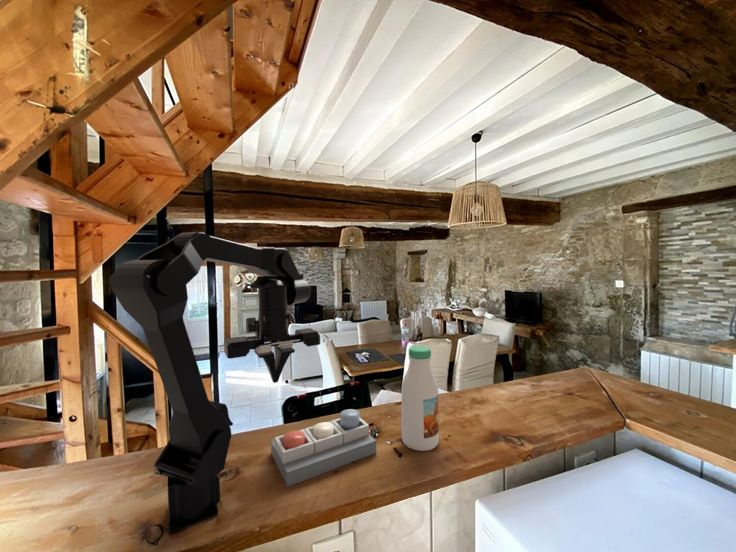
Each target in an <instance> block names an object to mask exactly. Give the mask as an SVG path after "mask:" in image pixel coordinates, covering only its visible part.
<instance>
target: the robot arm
mask: <svg viewBox="0 0 736 552" xmlns="http://www.w3.org/2000/svg"><path fill="white" fill-rule="evenodd" d="M205 261H206V262H212V263H217V264H224V265H229V266H235V267H241V268H244V269H245V270H247V271H248V272H249V273H252V274H253V275H256V276H257V277H256V279H255V280H254V281H252V283H251V284H250V285H249V287H250V289H257V291H258V293H257V295H258V316H257V317H258V319H257V318H256V317H246V319H245V330H246V331H245V332H246V334H252V333H253V334H254V335H255V336H254V337H255V339H249V340H248V338H247V337H246V336H243V335H241V336H235V337H227V338H226V339H225V340H224V342H223V349H224V350H223V351H224V354H225V356H226V358H227V359H237V358H238V359H239V358H244V357H247V355H248V354H249V353H250V351H251V350H253V352H254V354H255V355H256V356H257V357H258V358H260V359H262V360H263V361H264V362H265V365H266V368H267V370H268V372H269V375H270V378H271V381H272V383H273V384H275V383H276V384H277V383H279V380H280V378H281V375H282V372H283V369H284V367H285V365H286V363H287V362H288V359H290V356H291V354H294V353H295V352H296V349H295V348H294V347H293V346H294V344H297V343H303V344H304V345H305V346H306V347H314V346H319V345H321V335H320V333H319V331H317V330H315V329H313V328H311V327H307V328H299V329H295V331H294V334H290V333H289V329H288V328H289V325H288V323H289V319H290V316H289V315H290V314H289V313H288V306H292V305H295V304H299V303H305V302H307V301H308V300H309V299H310V297H311V294H312V288H311V286H310V284H309V282H308V281H307V280H306V279H304V273H299V271H298V268H297V266H296V264H295V262H294V260H293V258H292V256H291V255H290V252H289V250H288V249H286V248H283V247H254V246H251V245H248V244H243V243H239V242H235V241H232V240H227V239H223V238H219V237H216V236H212V235H209V234H208V233H205V232H203V231H190V232H181V233H178V234H177V235H175V236H174V237H173V238H171V239H170V240H169V241H167V242H166V243H165V242H164V243H163V244H162V245H159V246H158V247H155V248H153V249H152V250H151V249H150V250H149V251H148V252H145V253H144V254H142V255H140V256H139V257H137V259H133V260H127V261H125V262H122V263H121V264H120V265H118V266H117V267H116V268H115V269H114V272H113V274H111V275H110V280H109V282H110V287H111V290H112V292H113V294H114V295H115V297H116V299H117V300H118V302H119V304H120V305H121V307H122V308H123V310H124V311H125V312H126V313H127V314H128V316H130V317H131V318H132V319H133V320H134V321H136V322H137V324H138V325H139V326H140V327H141V328H142V330H143V333H144V336H145V338H146V341H147V344H148V346H149V349H150V352H151V354H152V358H153V360H154V363H155V366H156V369H157V372H158V374H159V377H160V379H161V383H162V385H163V389H164V392H165V393H166V397H167V398H168V402H169V406H170V407H171V409H172V414H171V419H170V421H169V424H168V435H169V440H168V442H167V444H166V445H165V447H164V448H163V449H162V451H161V453H160V454H159V457H157V459H156V461H155V463H154V465H153V466H154V469H155V470H156V472H157V473H158V475H160V476H165V477H166V478H167V505H168V506H167V508H168V509H167V511H168V512H167V513H168V514H167V515H168V516H167V533H168V535H170V534H174V533H177V532H179V531H182V530H184V529H187V528H189V527H192V526H195V525H197V524H200V523H202V522H205V521H208V520H210V519H213V518H215V517H217V516H218V515H219V507H218V504H220V502H221V483H220V482H221V481H220V473H221V472H223V471H224V469H225V466H226V463H227V462H226V461H227V456H228V452H229V447H230V442H231V439H232V428H231V427H232V426H233V425H234V423H233V421H231V419H230V416H229V415H230V414H229V409H228V406H227V405H226V403H222V402H218V401H213V400H210V399H209V397H208V394H207V390H206V387H205V384H204V381H203V378H202V375H201V371H200V369H199V365H198V361H197V358H196V355H195V353H194V349H193V346H192V343H191V340H190V337H189V334H188V330H187V327H186V324H185V321H184V314H185V310H186V307H187V304H188V299H189V295H188V287H187V285H188V283H190V282H191V280H193V279H194V278H195V277H196V276H197V275H198V274H199V273H200V270H201V267H202V266H203V263H204V262H205ZM256 338H257V339H256ZM272 347H273V348H274V351H273V350H272Z"/></svg>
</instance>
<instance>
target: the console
mask: <svg viewBox="0 0 736 552" xmlns="http://www.w3.org/2000/svg"><path fill="white" fill-rule="evenodd" d="M327 422H328V423H331V424H332V425H333V434H334V435H332V436H328V437H325V438H322V439H319V440H316V438H315V437H314V436H313V427H314V426H315V425H313V426H309V427H307V428H302V429H299V430H297V431H302V432H303V433H304V434H305V444H304V445H300V446H297V447H294V448H291V449H288V450H285V449H284V447H283V436H284V435H285V434H282V435H279V436H275V437H274V439H273V440H271V441H270V450H271V451H270V452H271V453H270V454H271V456H272V458H273V460H274V462H275V464H276V466H277V468H278V470H279V472H280V474H281V477H282V478H283V481H284V483H285V485H286V487H290V486H293V485H295V484H298V483H301V482H303V481H306V480H308V479H311V478H314V477H317V476H320V475H322V474H324V473H327V472H330V471H332V470H335V469H338V468H340V467H343V466H345V465H348V464H350V463H353V462H355V461H359V460H361V459H364V458H367V457H369V456H372V455H374V454H377V439H375V437H373V436H372V435H371V434H370V425H369V424H368V423H367V422H366V421H365V420H364V419H362V418H361V417H360V426H359V427H357V428H353V429H350V430H344V429H343V428H342V427H341V426H340V417H339V418H336V419H332V420H329V421H327Z"/></svg>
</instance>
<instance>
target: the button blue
mask: <svg viewBox="0 0 736 552" xmlns="http://www.w3.org/2000/svg"><path fill="white" fill-rule="evenodd" d="M339 418H340V426H341V427H342V428H343V429H344V430H350V429H353V428H357V427H359V426H360V418H361V417H360V411H359V410H358V409H353V408H349V409H344V410H342V411H340V415H339Z"/></svg>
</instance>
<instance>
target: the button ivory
mask: <svg viewBox="0 0 736 552" xmlns="http://www.w3.org/2000/svg"><path fill="white" fill-rule="evenodd" d="M328 422H329V421H325V422H324V421H323V422H318V423H317V424H314V425H313V426H314V427H313V436H314V437H315V438H316V440H319V439H322V438H325V437H328V436H332V435H334V434H333V425H332V424H331V423H328Z"/></svg>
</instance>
